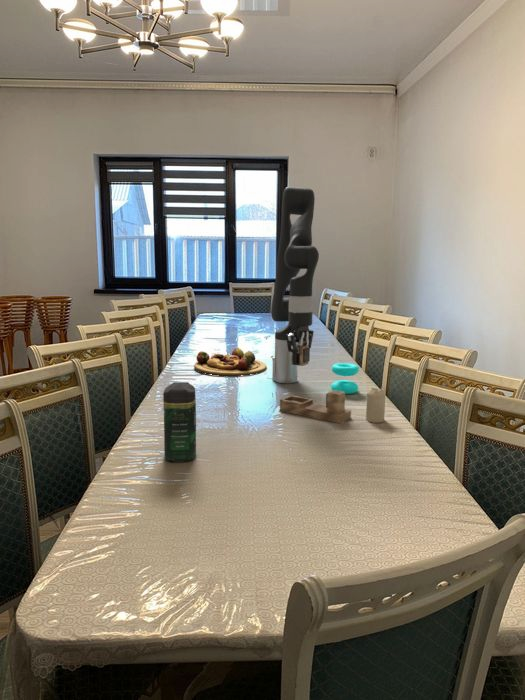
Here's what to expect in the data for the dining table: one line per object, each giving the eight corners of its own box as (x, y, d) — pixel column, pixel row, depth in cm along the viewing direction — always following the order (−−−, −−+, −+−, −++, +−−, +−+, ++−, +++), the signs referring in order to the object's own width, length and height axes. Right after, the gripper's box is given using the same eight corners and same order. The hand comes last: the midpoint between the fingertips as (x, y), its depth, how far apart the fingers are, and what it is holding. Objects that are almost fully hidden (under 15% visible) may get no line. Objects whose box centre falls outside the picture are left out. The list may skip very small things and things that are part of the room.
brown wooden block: (291, 364, 165) (291, 346, 164) (297, 362, 169) (298, 344, 168) (303, 366, 163) (304, 347, 162) (310, 364, 166) (310, 345, 165)
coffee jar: (195, 462, 126) (194, 389, 122) (162, 463, 125) (160, 389, 122) (197, 448, 135) (196, 379, 132) (167, 448, 135) (165, 379, 131)
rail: (279, 410, 168) (280, 385, 167) (291, 405, 174) (291, 381, 172) (340, 423, 156) (341, 396, 154) (350, 417, 161) (351, 391, 159)
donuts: (332, 361, 196) (359, 362, 194) (331, 387, 198) (358, 388, 196) (330, 367, 187) (358, 368, 185) (330, 393, 188) (357, 395, 186)
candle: (385, 418, 161) (386, 387, 159) (383, 423, 156) (384, 391, 154) (367, 416, 163) (368, 385, 161) (364, 421, 157) (366, 390, 156)
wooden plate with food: (180, 373, 221) (180, 354, 219) (214, 358, 250) (214, 341, 248) (248, 382, 209) (249, 362, 207) (276, 365, 238) (277, 348, 236)
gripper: (301, 308, 171) (300, 358, 174) (278, 311, 159) (277, 365, 162) (321, 309, 167) (320, 361, 169) (299, 312, 155) (298, 368, 158)
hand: (299, 363), depth 166 cm, fingers closed on brown wooden block, 4 cm apart
